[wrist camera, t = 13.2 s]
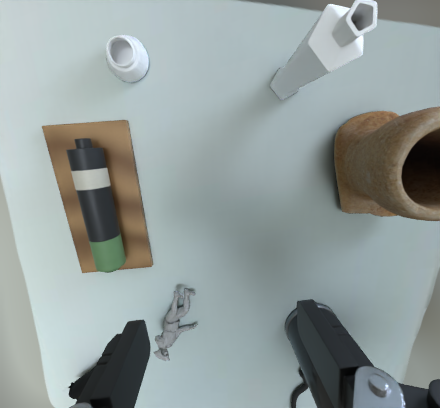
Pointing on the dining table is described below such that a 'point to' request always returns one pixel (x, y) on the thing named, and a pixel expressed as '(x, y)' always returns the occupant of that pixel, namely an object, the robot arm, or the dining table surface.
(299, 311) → the robot arm
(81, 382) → the tape measure
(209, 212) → the dining table surface
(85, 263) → the wooden board
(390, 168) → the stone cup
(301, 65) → the perfume bottle
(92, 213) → the marker
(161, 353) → the soldier figure
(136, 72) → the white jar
